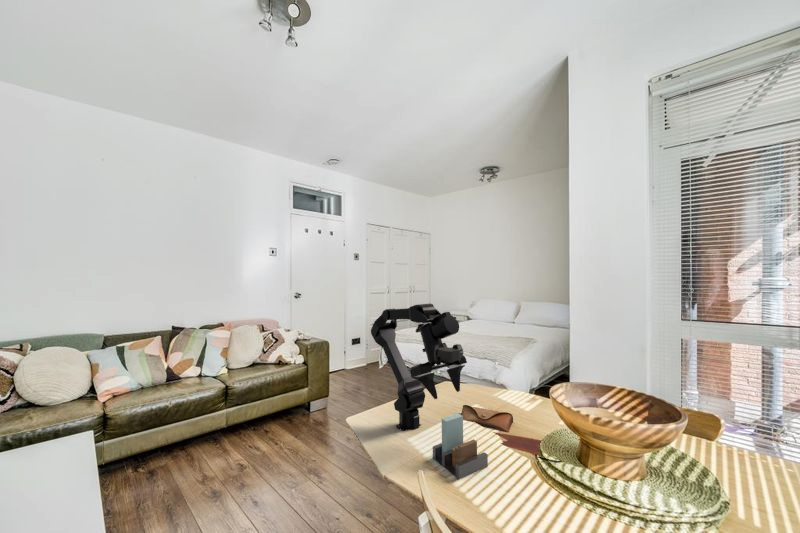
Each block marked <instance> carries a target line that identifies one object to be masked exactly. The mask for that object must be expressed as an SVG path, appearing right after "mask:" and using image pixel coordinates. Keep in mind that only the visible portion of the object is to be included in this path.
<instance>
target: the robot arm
mask: <svg viewBox="0 0 800 533" xmlns="http://www.w3.org/2000/svg"><path fill="white" fill-rule="evenodd" d="M397 320H409V321H410V322H413V323H418V324H417V327H416V329H415V333H417V334H418V333H420V336H421V339H422V343H423V346H424V347H423V348H422V352H423V353H425V354H426V358H427V361H426V362H423V363H419V364H416V365H413V366H411V368H410V371H409V369H408V367H407V365H406V362H405V361H404V358H403V357H402V356H403V355H402V354H401V352H400V349H399V348H398V346H397V343H396V335H397V334H396V329H397V327H398V322H397ZM388 321H390V322H388ZM459 330H460V323H459V321H458V320H457V319H456V317H455V316H453V315H452V314H451V312H450V311H444V312H440V311H439V310H438V309H437V308H436V307H435V306H434V304H433V303H420V304H414V305H411V306H410V307H408V308H406V307H405V308H385V309H384V310H383V311H382V313H381V314H380V316H378V317H377V318H376V319H375V320H374V322H373V324H372V327H371V329H370V334H371V337H372V338H373V340H374V342H375V343H376V345H379V346H380V348H382V350H383V351H384V354H385V356H386V360H387V361H388V363H389V366H390V368H391V370H392V373H393V375H394V376H395V377H394V378H395V380H396V381H397V385H398V386H397V396H398V398H397V399H396V400H395V401H394V403H393V406H394V410H395V411H396V412H398V415H399V416H398V419H399V420H398V422H399V423H397V424H396V425H395V427H396V428H398V429H400V430H401V431H408V430H413V431H414V430H415V431H416V430H417V429H419V428H420V427H421V426H422V424H420V414H419V413H420V412H419V411H420V410H419V409H422V408H424V403H425V398H426V393H425V389H426V390H427V392H428V393H429V394H430V395H431V397H432V398H433V399H434V400H437V399H438V393H437V392H438V391H437V388H436V385H435V381H434V377H435V372H432V371H434V370H438V369H442V368H446V367H447V368H448V369H446V372H447V374H448V377H449V378H450V381H451V383H452V385H453V387H454V388H453V389H455V391H456V393H459V392H460V391H461V372H462V370H463V368H464V367H466V364H467V363H468V361H467V358H466V356H465V355H464V349H463V346H462V345H461V344H460V343H457V344H453V346H452V347H448V345H447V343H446V342H443V341H442V339H443V340H444V339H447V338H448V337H450V336H453V335H456V334H457V333H458V332H460V331H459ZM414 378H415V379H414ZM422 385H423V386H424V387H423V386H422Z"/></svg>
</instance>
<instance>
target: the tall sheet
mask: <svg viewBox="0 0 800 533" xmlns="http://www.w3.org/2000/svg"><path fill="white" fill-rule="evenodd" d="M441 443H442V453H444V452H447V451H449V450H452V449H453V448H455V447H456V446H458V445H460V444H463V443H464V420H463V416H462V415H461V413H456V414H451V415H449V416H446V417H442V418H441Z"/></svg>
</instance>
